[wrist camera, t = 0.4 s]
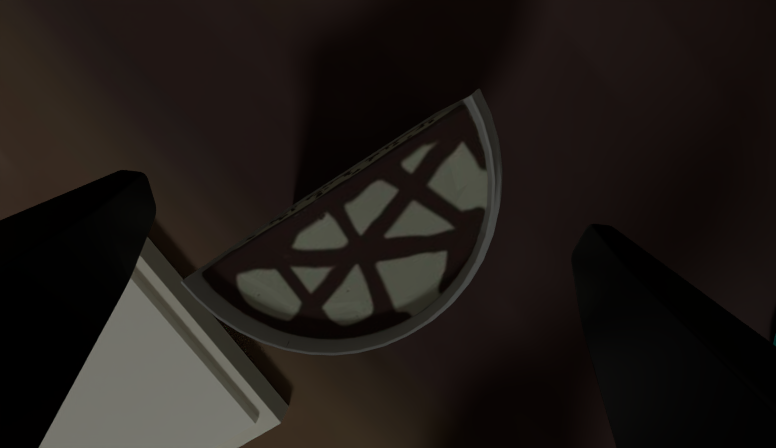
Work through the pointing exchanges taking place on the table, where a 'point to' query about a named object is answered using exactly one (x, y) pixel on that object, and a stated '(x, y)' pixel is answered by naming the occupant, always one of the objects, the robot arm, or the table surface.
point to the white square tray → (164, 375)
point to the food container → (368, 243)
